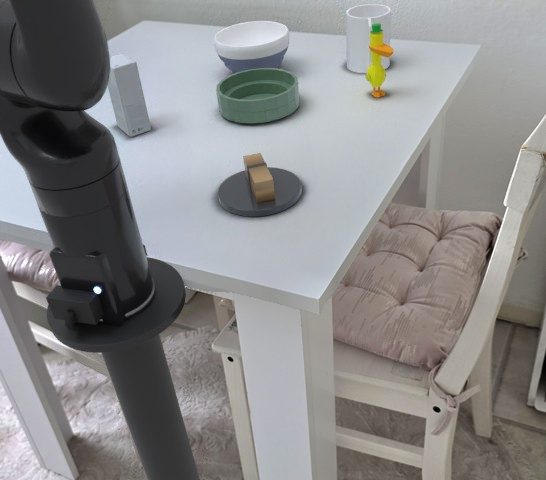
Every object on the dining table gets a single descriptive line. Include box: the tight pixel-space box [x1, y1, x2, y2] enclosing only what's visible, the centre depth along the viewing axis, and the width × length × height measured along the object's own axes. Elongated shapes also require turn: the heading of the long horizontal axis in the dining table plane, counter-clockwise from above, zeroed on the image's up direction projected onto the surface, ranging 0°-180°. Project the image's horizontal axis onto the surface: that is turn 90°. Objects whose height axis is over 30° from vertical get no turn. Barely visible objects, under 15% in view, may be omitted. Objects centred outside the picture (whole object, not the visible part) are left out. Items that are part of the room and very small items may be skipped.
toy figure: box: [365, 24, 394, 99], centre depth 113 cm, size 7×4×12 cm, turn 30°
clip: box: [242, 152, 275, 203], centre depth 93 cm, size 8×3×3 cm, turn 13°
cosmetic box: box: [107, 53, 152, 138], centre depth 112 cm, size 6×4×12 cm
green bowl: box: [215, 68, 301, 124], centre depth 116 cm, size 14×14×4 cm
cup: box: [345, 3, 392, 74], centre depth 123 cm, size 8×12×10 cm
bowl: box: [213, 20, 290, 74], centre depth 128 cm, size 14×14×8 cm
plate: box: [217, 166, 303, 218], centre depth 95 cm, size 12×12×1 cm
